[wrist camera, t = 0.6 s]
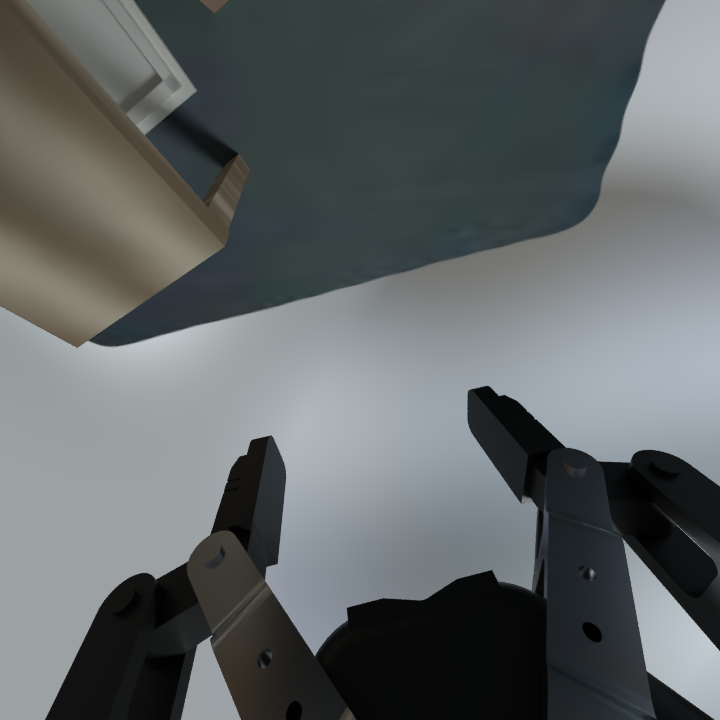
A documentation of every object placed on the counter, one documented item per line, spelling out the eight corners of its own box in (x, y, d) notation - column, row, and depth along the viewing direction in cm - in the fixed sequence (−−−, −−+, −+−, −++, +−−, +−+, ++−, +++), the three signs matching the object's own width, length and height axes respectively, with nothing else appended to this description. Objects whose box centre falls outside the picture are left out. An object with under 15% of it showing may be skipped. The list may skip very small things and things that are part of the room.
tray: (62, -103, 18) (49, -114, 17) (197, 90, 25) (193, 91, 24) (-50, 30, 21) (-68, 27, 20) (100, 172, 28) (93, 176, 26)
